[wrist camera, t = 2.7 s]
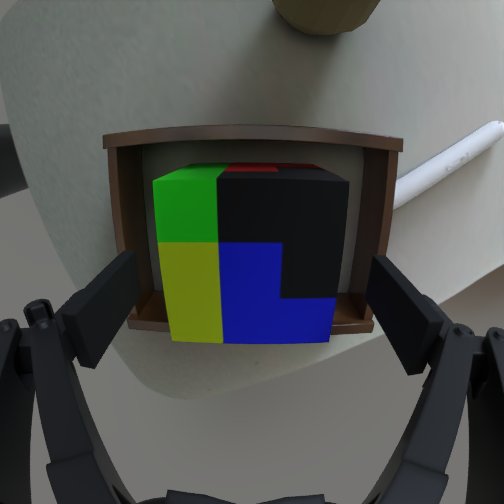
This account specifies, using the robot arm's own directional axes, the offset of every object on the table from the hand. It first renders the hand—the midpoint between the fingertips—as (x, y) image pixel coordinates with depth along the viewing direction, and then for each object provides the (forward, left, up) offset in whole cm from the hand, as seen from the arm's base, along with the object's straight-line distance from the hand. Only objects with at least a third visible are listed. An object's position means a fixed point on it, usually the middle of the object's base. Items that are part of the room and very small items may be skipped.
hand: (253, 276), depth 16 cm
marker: (+19, +8, -11) cm, 23 cm away
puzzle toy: (0, 0, -11) cm, 11 cm away
